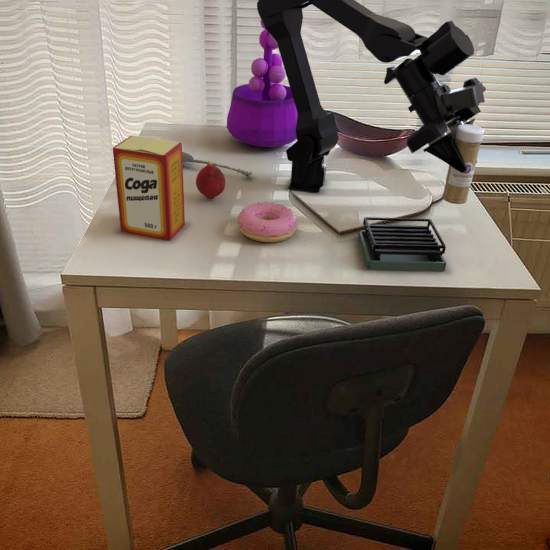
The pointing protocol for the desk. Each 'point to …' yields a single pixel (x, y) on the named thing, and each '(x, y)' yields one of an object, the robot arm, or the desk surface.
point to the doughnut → (267, 222)
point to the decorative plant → (264, 102)
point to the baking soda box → (150, 186)
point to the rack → (403, 239)
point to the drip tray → (398, 259)
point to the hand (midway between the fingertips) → (469, 167)
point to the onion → (210, 181)
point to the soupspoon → (189, 158)
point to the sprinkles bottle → (468, 147)
